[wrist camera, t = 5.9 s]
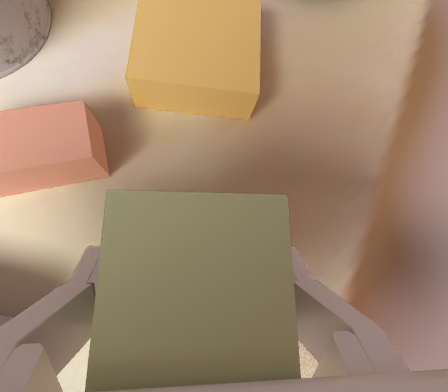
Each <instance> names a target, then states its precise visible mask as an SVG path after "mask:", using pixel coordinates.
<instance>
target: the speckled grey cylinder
mask: <svg viewBox="0 0 448 392" xmlns="http://www.w3.org/2000/svg"><path fill="white" fill-rule="evenodd" d="M50 27H51V9H50V6H49V3H48V0H0V78H2V77H5V76H7V75H9V74H12V73H13V72H15V71H16V70H18V69H19V68H21V67H22V66H24V65H25V64H27V63H28V62H29V61H30V60H31V59H32V58H33V57H34V56H35V55H36V54H37V53H38V52H39V51H40V49H41V47H42V46H43V44H44V43H45V41H46V39H47V37H48V34H49V30H50Z"/></svg>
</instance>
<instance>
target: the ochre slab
mask: <svg viewBox="0 0 448 392" xmlns="http://www.w3.org/2000/svg"><path fill="white" fill-rule="evenodd" d="M260 49H261V0H138V6H137V12H136V18H135V24H134V30H133V35H132V41H131V47H130V53H129V59H128V65H127V70H126V76H125V78H126V81H127V84H128V87H129V90H130V93H131V96H132V99H133V102H134V105H135V108H144V109H153V110H161V111H170V112H179V113H188V114H197V115H206V116H215V117H224V118H233V119H242V120H249V119H250V117H251V114H252V112H253V109H254V107H255V105H256V102H257V100H258V97H259V95H260Z"/></svg>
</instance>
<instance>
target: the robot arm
mask: <svg viewBox="0 0 448 392" xmlns="http://www.w3.org/2000/svg"><path fill="white" fill-rule="evenodd" d="M100 248H101V246H88V247H87V248H86V249H85V251H84V253H83V255H82V257H81V259H80V261H79V263H78V264H77V266H76V268H75V270H74V272H73V274H72V276H71V278H70V280H69V282H68V283H67V284H61V285H60V286H59V287H57V288H56V289H54V290H53V291H51V292H50V293H48V294H47V295H46V296H44V297H43V298H41V299H40V300H38V301H37V302H35V303H34V304H33V305H31V306H30V307H28V308H27V309H25V310H24V311H22V312H21V313H20V314H18V315H17V316H15V317H14V318H12V319H11V320H9V321H8V322H7V323H5V324H4V325H2V326H1V327H0V392H63V391H62V388H61V386H60V384H59V382H58V379H57V377H56V376H57V375H58V374H59V373H60V371H61V370H62V369H63V368H64V367H65V366H66V365H67V364H68V363H69V361H70V360H71V359H72V358H73V357H74V356H75V355H76V354H77V353H78V351H79V350H80V349H81V348H82V347H83V346H84V345H85V344H86V342H87V341H88V340H89V339H90V338H91V332H92V322H93V313H94V304H95V294H96V285H97V276H98V267H99V257H100ZM291 248H292V262H293V276H294V290H295V304H296V318H297V332H298V339H299V341H300V342H301V343H302V344H303V345H304V346H305V347H306V349H307V350H308V351H309V352H310V353H311V354H312V355H313V357H314V358H315V359H316V360H317V361H318V362H319V364H318V366H317V368H316V370H315V373H314V375H313V377H312V378H300V379H284V380H269V381H253V382H237V383H221V384H206V385H190V386H175V387H159V388H144V389H128V390H112V391H97V392H448V369H442V370H426V371H410V370H409V369H408V367H407V366H406V364H405V363H404V361H403V359H402V358H401V356H400V355H399V353H398V352H397V350H396V349H395V347H394V346H393V344H392V343H391V341H390V340H389V338H388V336H387V335H386V333H385V332H384V330H383V329H382V328H381V327H380V326H378V325H377V324H376V323H374V322H373V321H371V320H370V319H369V318H368V317H366V316H365V315H363V314H362V313H361V312H359V311H358V310H357V309H355V308H354V307H353V306H351V305H350V304H349V303H347V302H346V301H344V300H343V299H342V298H340V297H339V296H338V295H336V294H335V293H334V292H332V291H331V290H329V289H328V288H327V287H325V286H324V285H323V284H321V283H320V282H319V281H317V280H312V278H311V276H310V274H309V272H308V270H307V268H306V266H305V264H304V262H303V260H302V258H301V256H300V254H299V252H298V250H297V248H296V247H295V246H291Z"/></svg>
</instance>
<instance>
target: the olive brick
mask: <svg viewBox="0 0 448 392" xmlns="http://www.w3.org/2000/svg"><path fill="white" fill-rule="evenodd" d="M300 378H301V375H300V361H299V346H298V332H297V318H296V304H295V290H294V276H293V262H292V248H291V234H290V220H289V205H288V194H252V193H213V192H174V191H136V190H107V193H106V202H105V211H104V220H103V230H102V239H101V248H100V257H99V267H98V276H97V285H96V294H95V304H94V313H93V322H92V332H91V341H90V350H89V359H88V369H87V378H86V387H85V392H97V391H112V390H128V389H144V388H159V387H175V386H190V385H206V384H221V383H237V382H253V381H269V380H284V379H300Z"/></svg>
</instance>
